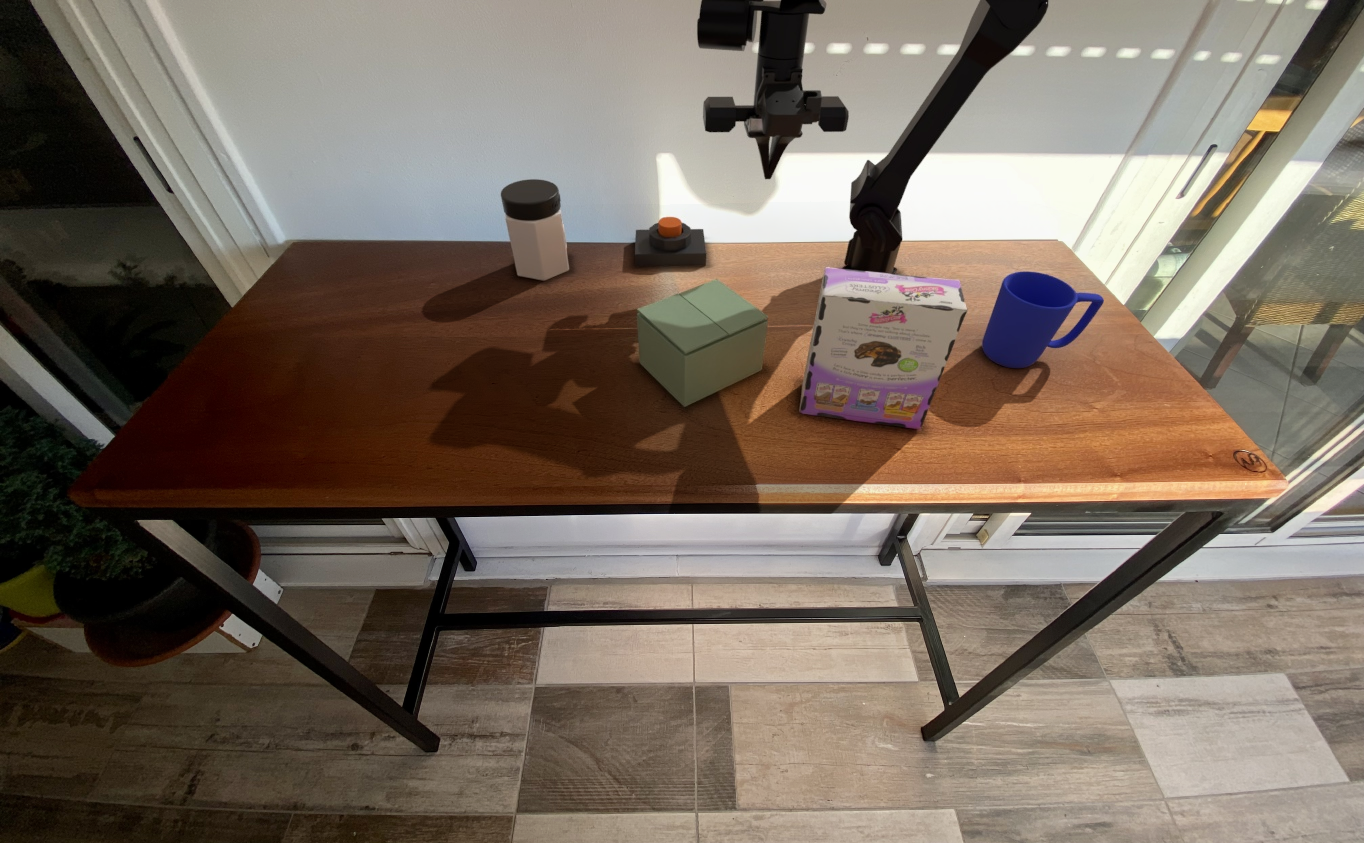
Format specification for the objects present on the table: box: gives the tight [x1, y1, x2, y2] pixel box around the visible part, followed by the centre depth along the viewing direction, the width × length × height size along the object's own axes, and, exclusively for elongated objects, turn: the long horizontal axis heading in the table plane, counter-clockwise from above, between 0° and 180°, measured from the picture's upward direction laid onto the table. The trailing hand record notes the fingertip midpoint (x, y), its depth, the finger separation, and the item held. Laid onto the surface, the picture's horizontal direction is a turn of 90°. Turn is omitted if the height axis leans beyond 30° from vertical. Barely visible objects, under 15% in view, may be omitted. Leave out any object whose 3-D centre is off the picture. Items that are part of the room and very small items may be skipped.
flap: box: [678, 278, 769, 335], centre depth 71 cm, size 6×10×1 cm, turn 35°
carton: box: [636, 293, 769, 408], centre depth 73 cm, size 12×10×8 cm
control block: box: [634, 222, 707, 267], centre depth 94 cm, size 11×8×4 cm
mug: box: [981, 270, 1105, 369], centre depth 74 cm, size 8×12×10 cm
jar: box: [500, 178, 570, 282], centre depth 88 cm, size 9×8×12 cm
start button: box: [657, 216, 683, 237], centre depth 92 cm, size 4×4×2 cm
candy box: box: [799, 266, 968, 430], centre depth 65 cm, size 14×6×16 cm, turn 78°
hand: (767, 178), depth 85 cm, fingers closed
